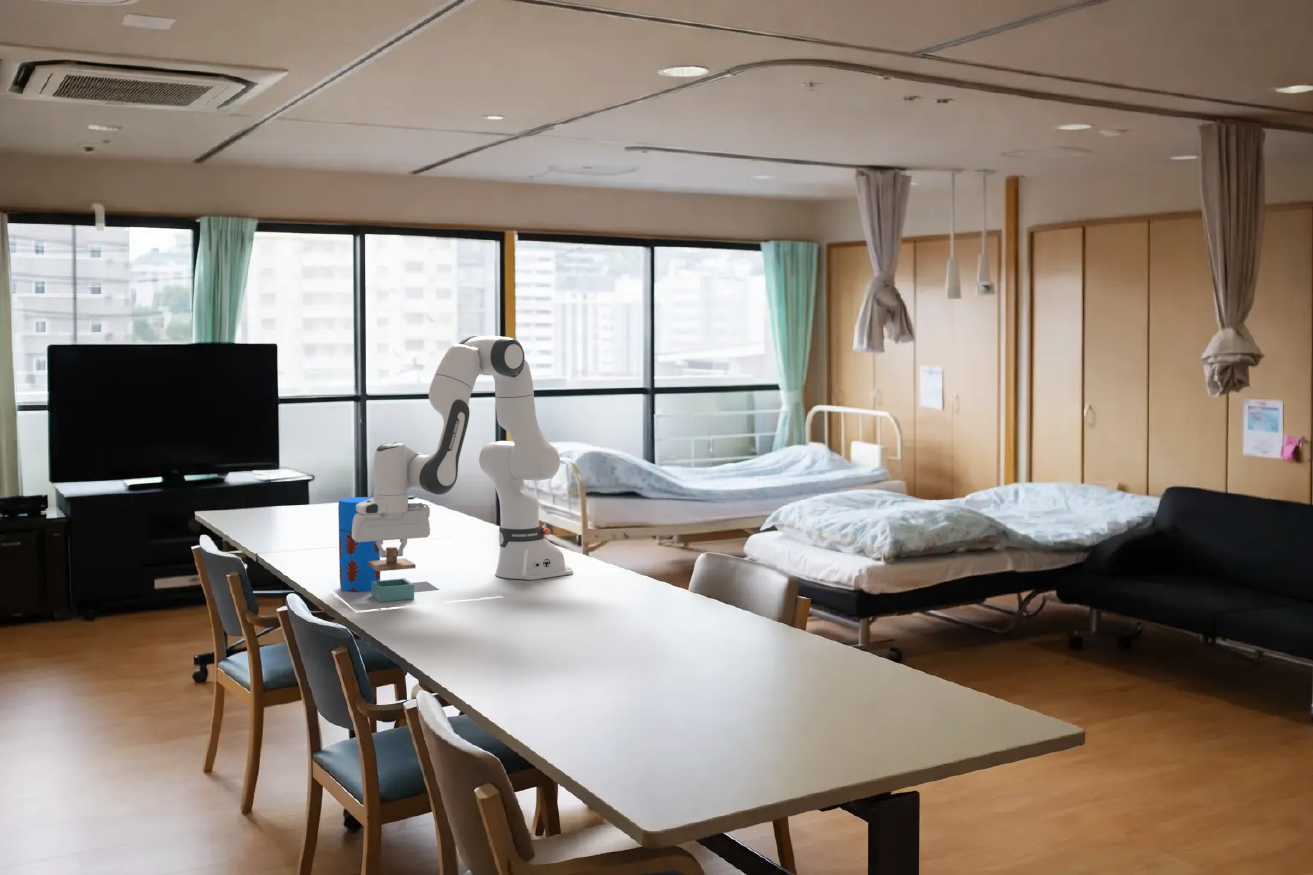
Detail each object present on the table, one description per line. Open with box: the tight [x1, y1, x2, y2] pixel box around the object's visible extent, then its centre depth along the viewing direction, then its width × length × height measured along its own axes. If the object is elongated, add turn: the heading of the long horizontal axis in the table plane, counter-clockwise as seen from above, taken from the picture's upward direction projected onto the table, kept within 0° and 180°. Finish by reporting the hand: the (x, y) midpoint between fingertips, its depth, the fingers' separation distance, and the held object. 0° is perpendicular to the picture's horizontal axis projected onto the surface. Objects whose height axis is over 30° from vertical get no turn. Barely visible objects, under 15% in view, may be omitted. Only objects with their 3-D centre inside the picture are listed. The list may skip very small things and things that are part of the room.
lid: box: [368, 546, 416, 572], centre depth 315 cm, size 10×10×5 cm
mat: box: [411, 581, 440, 593], centre depth 329 cm, size 12×12×1 cm
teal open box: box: [370, 577, 415, 604], centre depth 316 cm, size 9×9×4 cm
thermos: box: [337, 496, 381, 593], centre depth 327 cm, size 11×11×25 cm
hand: (391, 556), depth 315 cm, fingers closed on lid, 3 cm apart
